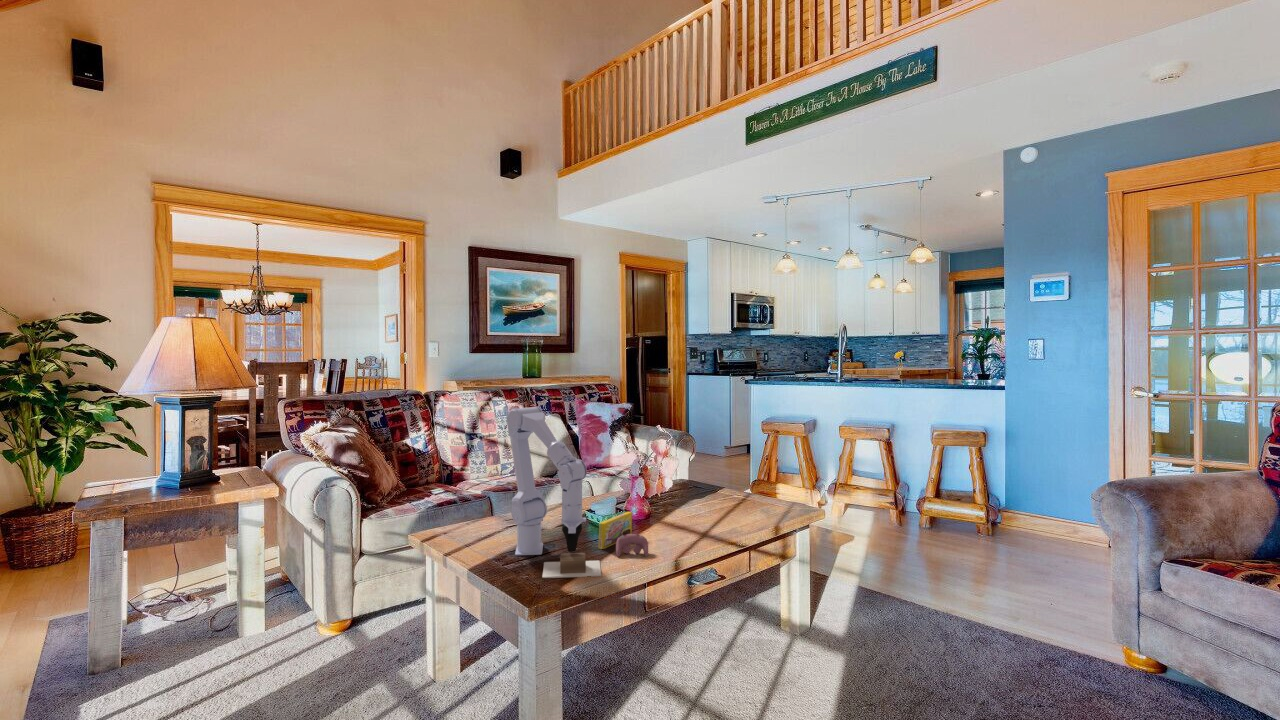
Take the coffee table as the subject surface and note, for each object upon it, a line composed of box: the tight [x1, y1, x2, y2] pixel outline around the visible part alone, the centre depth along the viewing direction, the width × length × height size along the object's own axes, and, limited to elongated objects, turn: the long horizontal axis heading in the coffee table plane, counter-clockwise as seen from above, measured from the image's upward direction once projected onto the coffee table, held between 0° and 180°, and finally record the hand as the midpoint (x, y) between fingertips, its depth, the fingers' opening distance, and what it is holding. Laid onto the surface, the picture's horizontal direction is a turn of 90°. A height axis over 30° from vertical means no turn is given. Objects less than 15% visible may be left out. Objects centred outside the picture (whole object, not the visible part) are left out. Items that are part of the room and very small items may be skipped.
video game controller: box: [615, 533, 649, 558], centre depth 186 cm, size 10×5×7 cm, turn 93°
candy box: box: [597, 511, 633, 550], centre depth 197 cm, size 16×2×8 cm, turn 147°
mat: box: [541, 560, 602, 579], centre depth 173 cm, size 11×16×1 cm
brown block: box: [559, 552, 587, 574], centre depth 172 cm, size 4×7×6 cm
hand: (571, 550), depth 175 cm, fingers closed
